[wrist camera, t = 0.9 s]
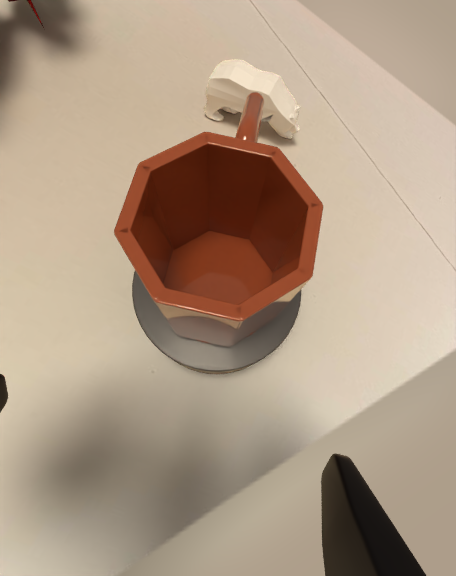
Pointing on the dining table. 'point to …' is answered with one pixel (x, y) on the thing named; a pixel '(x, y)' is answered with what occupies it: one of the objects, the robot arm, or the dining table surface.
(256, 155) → the mug
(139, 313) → the stand
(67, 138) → the dining table surface
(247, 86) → the figurine
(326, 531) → the robot arm
